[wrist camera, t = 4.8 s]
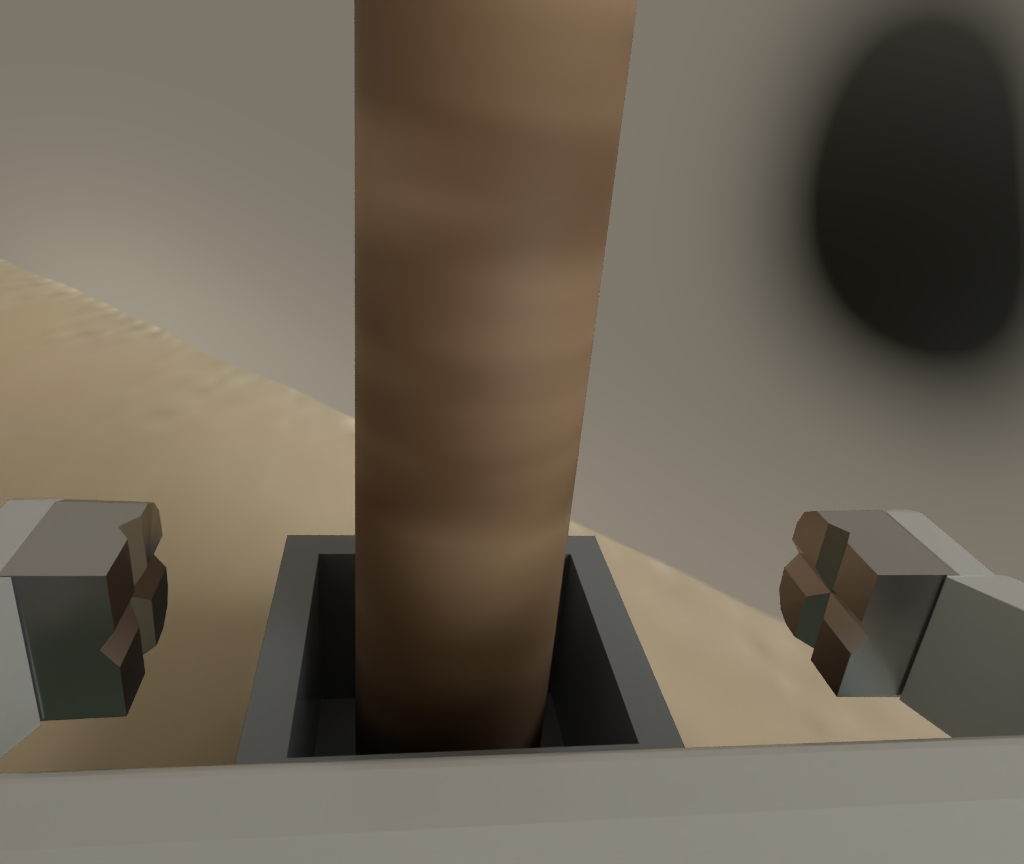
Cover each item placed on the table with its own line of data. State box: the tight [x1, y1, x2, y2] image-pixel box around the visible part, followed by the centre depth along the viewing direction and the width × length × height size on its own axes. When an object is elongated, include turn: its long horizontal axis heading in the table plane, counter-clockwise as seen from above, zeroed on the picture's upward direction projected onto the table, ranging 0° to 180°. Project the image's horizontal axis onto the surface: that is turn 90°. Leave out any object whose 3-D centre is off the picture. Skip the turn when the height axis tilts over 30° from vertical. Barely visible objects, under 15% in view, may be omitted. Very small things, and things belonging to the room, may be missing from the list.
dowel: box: [355, 0, 637, 755], centre depth 14 cm, size 4×4×16 cm
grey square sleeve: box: [235, 535, 685, 765], centre depth 17 cm, size 8×8×5 cm
